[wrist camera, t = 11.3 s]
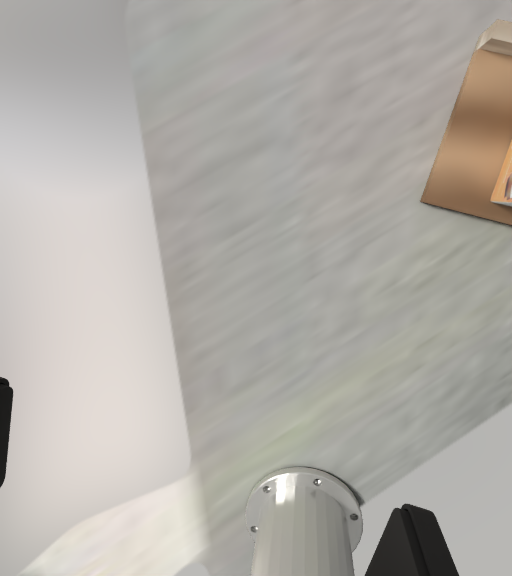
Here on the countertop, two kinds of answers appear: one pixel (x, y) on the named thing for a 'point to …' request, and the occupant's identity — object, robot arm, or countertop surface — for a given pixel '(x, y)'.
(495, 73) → the shelf board
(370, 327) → the countertop surface
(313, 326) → the countertop surface
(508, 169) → the small box
